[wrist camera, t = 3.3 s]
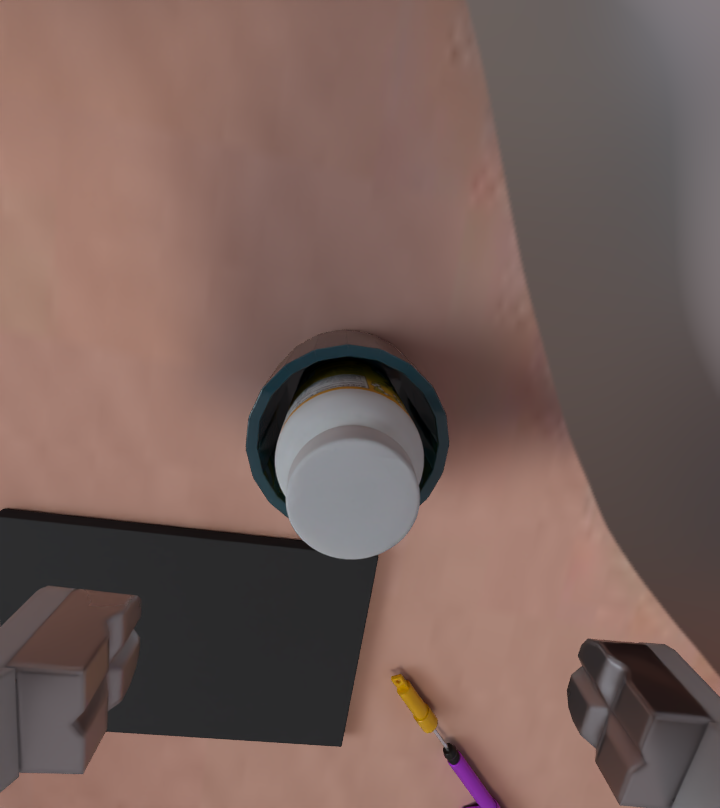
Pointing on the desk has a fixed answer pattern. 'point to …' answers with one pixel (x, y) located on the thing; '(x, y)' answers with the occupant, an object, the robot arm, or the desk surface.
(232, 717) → the mat
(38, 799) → the desk surface
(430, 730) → the multicoloured piece
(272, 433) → the tea cup
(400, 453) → the supplement bottle
